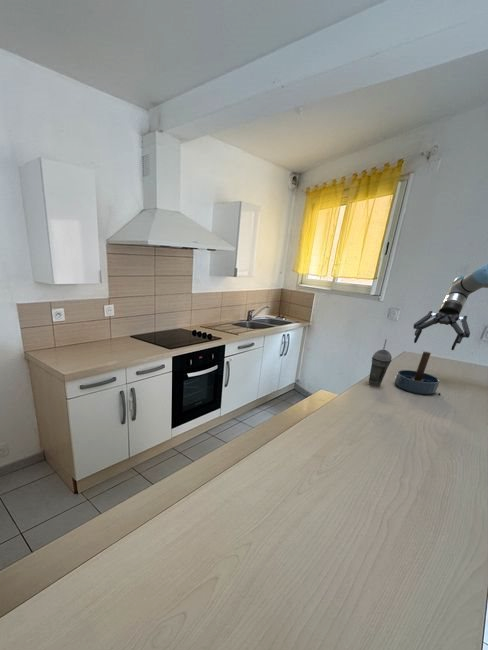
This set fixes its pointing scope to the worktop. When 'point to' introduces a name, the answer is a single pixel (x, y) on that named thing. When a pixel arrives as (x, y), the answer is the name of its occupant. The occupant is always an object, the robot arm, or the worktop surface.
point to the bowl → (416, 382)
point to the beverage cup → (379, 366)
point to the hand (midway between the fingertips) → (433, 344)
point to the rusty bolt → (421, 367)
